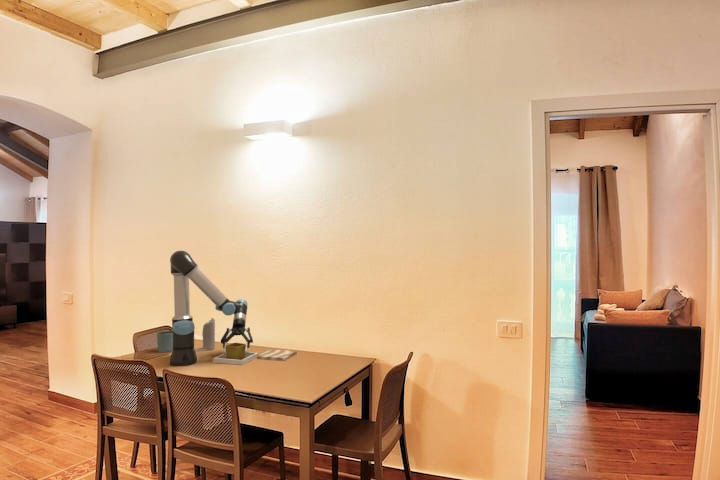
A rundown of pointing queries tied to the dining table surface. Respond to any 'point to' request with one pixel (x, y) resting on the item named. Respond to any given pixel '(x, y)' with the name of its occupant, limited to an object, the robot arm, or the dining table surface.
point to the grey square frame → (233, 361)
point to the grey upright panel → (208, 336)
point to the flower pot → (235, 350)
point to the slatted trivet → (277, 355)
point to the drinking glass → (165, 341)
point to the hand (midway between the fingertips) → (235, 352)
